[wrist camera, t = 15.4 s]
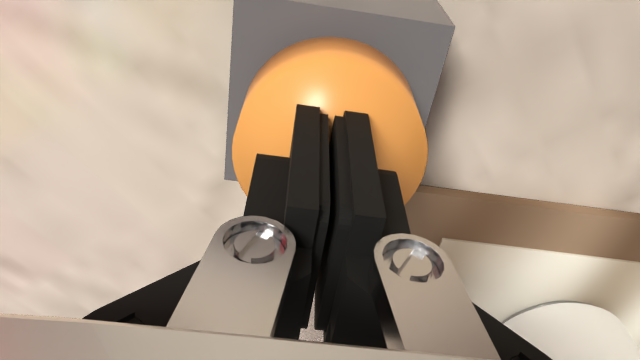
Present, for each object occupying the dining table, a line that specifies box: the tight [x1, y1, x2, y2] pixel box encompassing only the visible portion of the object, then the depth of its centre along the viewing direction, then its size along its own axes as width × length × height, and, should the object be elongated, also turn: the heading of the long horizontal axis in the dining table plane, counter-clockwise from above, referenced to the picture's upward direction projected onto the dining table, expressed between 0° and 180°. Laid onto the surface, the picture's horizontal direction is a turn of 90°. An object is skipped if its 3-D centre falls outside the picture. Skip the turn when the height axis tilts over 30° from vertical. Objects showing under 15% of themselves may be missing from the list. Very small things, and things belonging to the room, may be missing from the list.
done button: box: [232, 37, 428, 205], centre depth 13 cm, size 5×5×2 cm
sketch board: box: [404, 185, 640, 350], centre depth 24 cm, size 17×15×1 cm
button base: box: [224, 0, 455, 181], centre depth 15 cm, size 6×6×3 cm
